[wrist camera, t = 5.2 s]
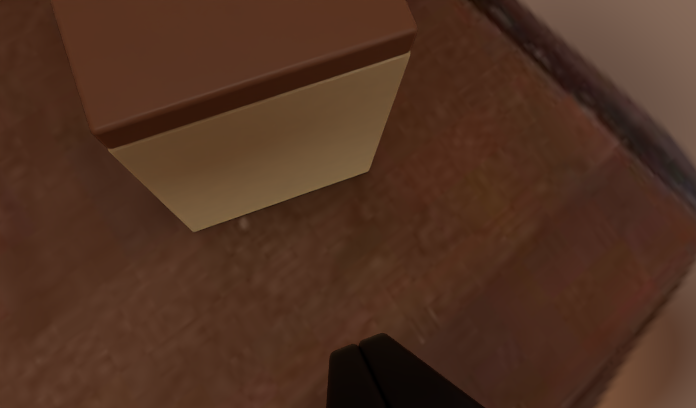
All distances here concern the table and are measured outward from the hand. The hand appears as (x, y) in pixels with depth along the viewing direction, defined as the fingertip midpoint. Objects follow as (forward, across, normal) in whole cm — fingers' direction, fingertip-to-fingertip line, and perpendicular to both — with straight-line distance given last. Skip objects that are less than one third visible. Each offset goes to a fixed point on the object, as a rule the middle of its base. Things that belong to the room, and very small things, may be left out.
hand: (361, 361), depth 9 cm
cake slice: (+11, 0, -1) cm, 11 cm away
